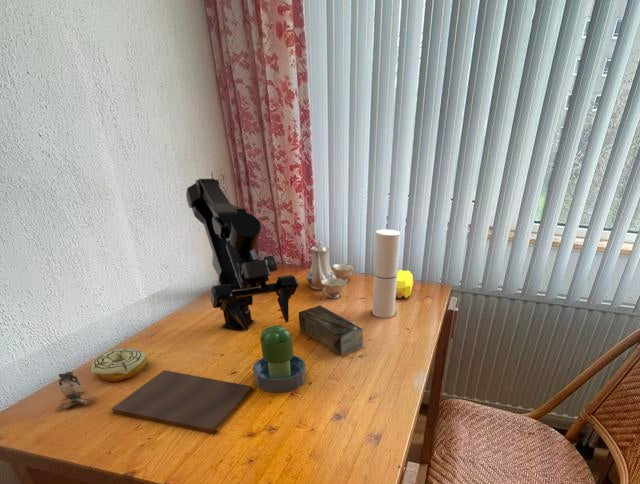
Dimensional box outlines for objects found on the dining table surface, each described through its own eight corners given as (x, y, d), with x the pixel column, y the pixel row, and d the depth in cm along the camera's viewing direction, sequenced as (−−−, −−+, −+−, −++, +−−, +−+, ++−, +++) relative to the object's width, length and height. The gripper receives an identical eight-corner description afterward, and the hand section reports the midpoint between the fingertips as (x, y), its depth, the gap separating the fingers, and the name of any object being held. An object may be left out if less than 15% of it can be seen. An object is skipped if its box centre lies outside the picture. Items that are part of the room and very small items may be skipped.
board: (113, 413, 76) (111, 408, 75) (165, 374, 88) (163, 369, 88) (214, 434, 73) (212, 429, 72) (253, 390, 85) (252, 386, 84)
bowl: (245, 389, 85) (243, 374, 83) (269, 364, 94) (267, 350, 92) (294, 398, 83) (292, 383, 81) (313, 372, 93) (312, 357, 90)
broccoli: (260, 383, 86) (252, 330, 79) (273, 369, 92) (267, 318, 84) (288, 388, 85) (282, 335, 78) (299, 373, 91) (295, 322, 83)
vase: (64, 395, 80) (51, 371, 76) (95, 390, 82) (84, 366, 78) (57, 410, 76) (44, 385, 72) (90, 405, 78) (78, 380, 74)
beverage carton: (340, 357, 99) (340, 334, 95) (298, 331, 110) (296, 309, 106) (363, 348, 104) (364, 325, 100) (320, 324, 115) (319, 303, 111)
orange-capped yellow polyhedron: (387, 299, 134) (409, 302, 133) (388, 280, 130) (411, 283, 130) (393, 282, 149) (413, 284, 148) (395, 265, 145) (415, 267, 144)
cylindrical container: (368, 314, 122) (371, 232, 108) (377, 306, 128) (381, 228, 114) (389, 319, 120) (395, 236, 106) (397, 311, 126) (404, 231, 112)
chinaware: (346, 307, 130) (352, 258, 121) (297, 299, 129) (299, 249, 120) (353, 279, 153) (358, 237, 144) (312, 272, 152) (314, 229, 143)
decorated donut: (85, 383, 84) (78, 368, 82) (110, 358, 92) (104, 344, 90) (135, 383, 85) (129, 369, 82) (155, 358, 93) (151, 345, 91)
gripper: (202, 247, 75) (227, 319, 74) (292, 238, 84) (315, 303, 83) (201, 274, 85) (223, 339, 84) (282, 264, 94) (303, 323, 93)
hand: (267, 325), depth 86 cm, fingers open, 9 cm apart
